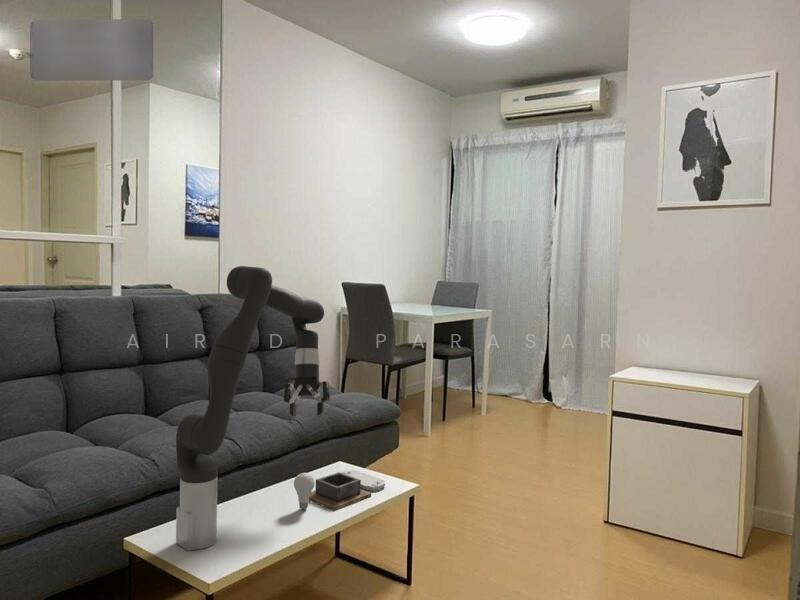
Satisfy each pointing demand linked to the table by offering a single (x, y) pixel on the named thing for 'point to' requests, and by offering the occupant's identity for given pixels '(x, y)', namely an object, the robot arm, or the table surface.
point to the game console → (367, 480)
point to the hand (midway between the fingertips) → (306, 415)
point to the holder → (338, 491)
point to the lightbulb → (303, 488)
